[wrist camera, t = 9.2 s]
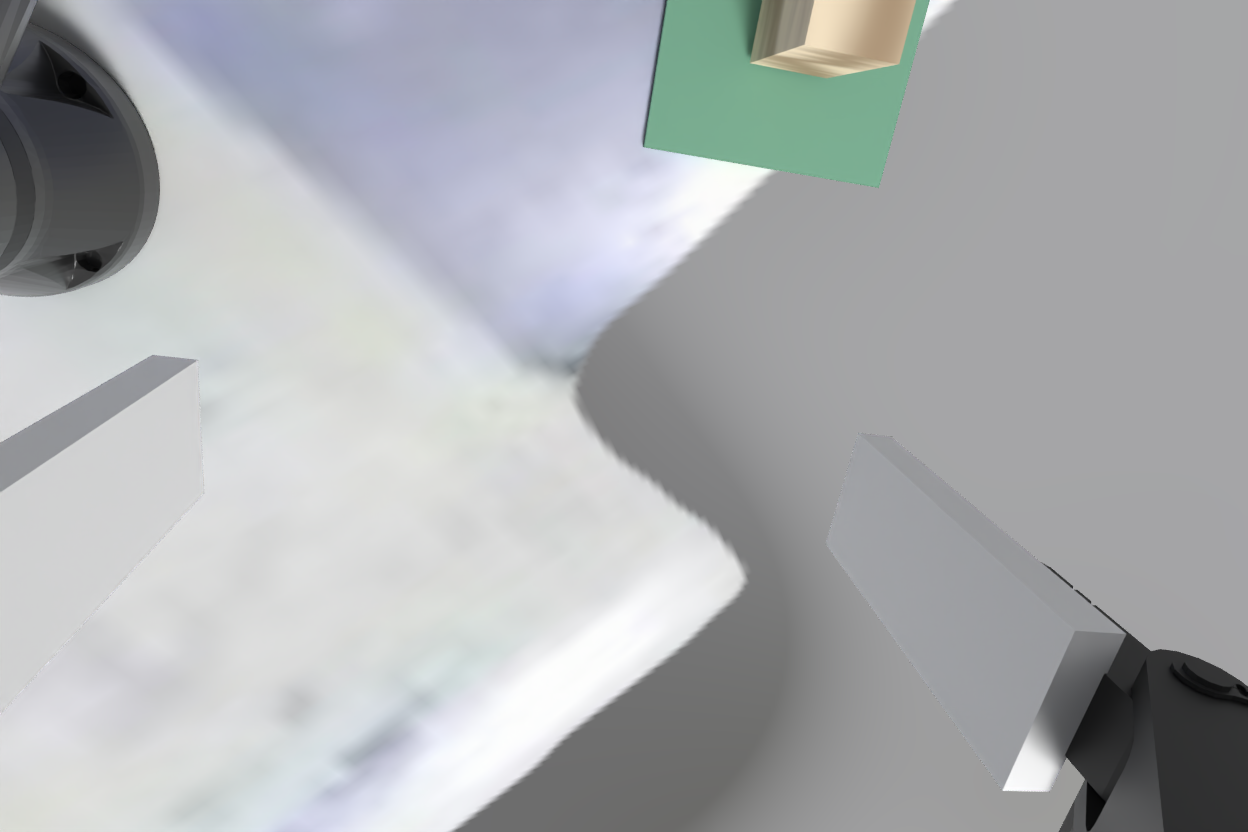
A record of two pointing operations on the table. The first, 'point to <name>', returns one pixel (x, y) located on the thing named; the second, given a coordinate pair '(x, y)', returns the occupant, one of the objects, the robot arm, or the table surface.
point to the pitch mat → (769, 99)
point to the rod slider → (831, 35)
